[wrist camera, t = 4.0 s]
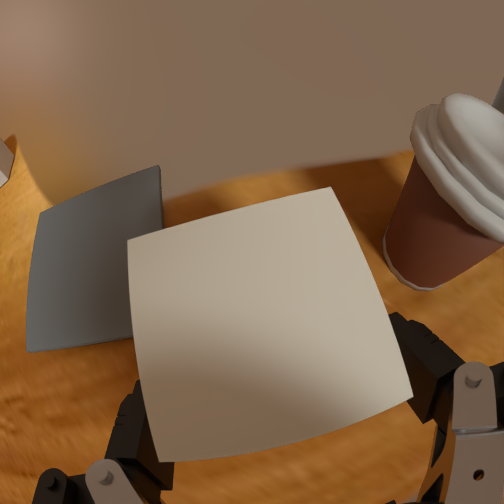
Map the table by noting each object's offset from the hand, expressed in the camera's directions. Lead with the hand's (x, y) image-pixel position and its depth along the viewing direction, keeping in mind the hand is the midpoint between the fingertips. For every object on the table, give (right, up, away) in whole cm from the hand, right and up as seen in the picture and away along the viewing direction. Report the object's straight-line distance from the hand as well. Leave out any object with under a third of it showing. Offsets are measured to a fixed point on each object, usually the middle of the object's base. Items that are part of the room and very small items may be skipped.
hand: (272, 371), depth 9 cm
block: (0, -3, +7) cm, 8 cm away
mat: (-15, +4, +12) cm, 19 cm away
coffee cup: (+12, +4, +10) cm, 16 cm away
